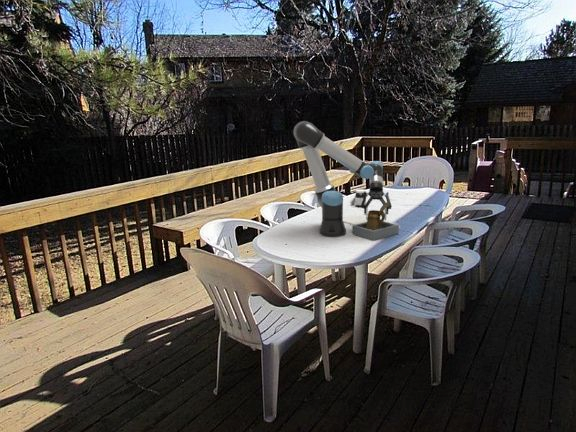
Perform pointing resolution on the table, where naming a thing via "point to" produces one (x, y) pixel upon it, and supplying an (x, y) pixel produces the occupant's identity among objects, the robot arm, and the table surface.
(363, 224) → the hollow square frame
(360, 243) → the table surface
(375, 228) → the wooden mug
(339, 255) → the table surface
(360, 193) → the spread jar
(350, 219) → the cream board
